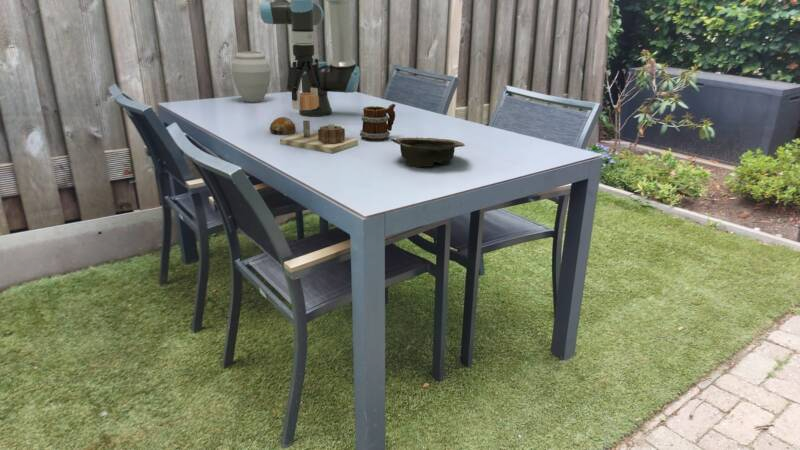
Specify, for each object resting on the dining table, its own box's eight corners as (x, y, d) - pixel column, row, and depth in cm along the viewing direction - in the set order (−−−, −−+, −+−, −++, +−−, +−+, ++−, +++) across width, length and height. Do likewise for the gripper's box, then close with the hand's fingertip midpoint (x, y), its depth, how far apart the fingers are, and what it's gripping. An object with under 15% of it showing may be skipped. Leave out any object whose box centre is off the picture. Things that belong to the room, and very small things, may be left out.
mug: (352, 136, 223) (357, 98, 218) (382, 138, 231) (388, 101, 227) (366, 142, 214) (373, 102, 209) (397, 144, 222) (404, 106, 218)
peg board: (280, 143, 209) (278, 122, 206) (307, 136, 222) (306, 115, 219) (332, 153, 198) (331, 131, 195) (357, 144, 211) (357, 123, 208)
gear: (307, 111, 202) (307, 97, 200) (287, 108, 207) (286, 94, 205) (324, 107, 210) (323, 94, 208) (304, 104, 214) (303, 91, 212)
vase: (227, 103, 284) (222, 53, 275) (243, 97, 302) (239, 50, 293) (264, 105, 281) (260, 54, 272) (278, 99, 299) (275, 51, 290)
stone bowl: (410, 174, 177) (410, 145, 174) (381, 160, 199) (380, 133, 196) (478, 166, 186) (478, 138, 183) (443, 153, 208) (443, 128, 205)
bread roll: (297, 142, 228) (303, 123, 228) (277, 134, 220) (284, 115, 219) (282, 138, 234) (288, 119, 234) (262, 130, 226) (269, 111, 226)
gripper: (290, 46, 189) (293, 113, 197) (330, 43, 207) (332, 104, 215) (273, 45, 193) (277, 110, 201) (314, 41, 210) (316, 102, 219)
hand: (305, 107), depth 208 cm, fingers closed on gear, 10 cm apart
